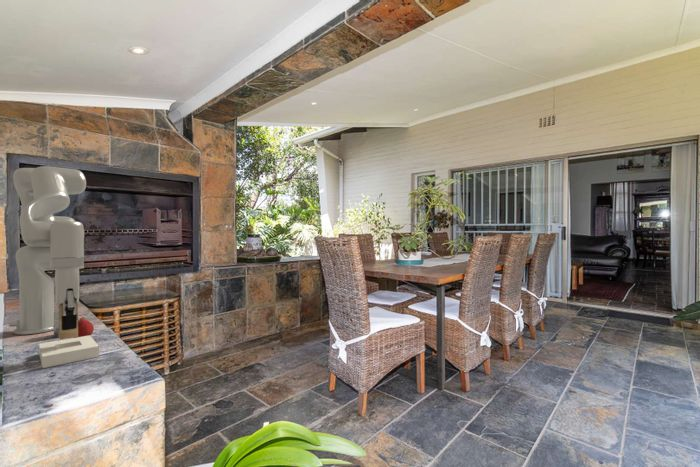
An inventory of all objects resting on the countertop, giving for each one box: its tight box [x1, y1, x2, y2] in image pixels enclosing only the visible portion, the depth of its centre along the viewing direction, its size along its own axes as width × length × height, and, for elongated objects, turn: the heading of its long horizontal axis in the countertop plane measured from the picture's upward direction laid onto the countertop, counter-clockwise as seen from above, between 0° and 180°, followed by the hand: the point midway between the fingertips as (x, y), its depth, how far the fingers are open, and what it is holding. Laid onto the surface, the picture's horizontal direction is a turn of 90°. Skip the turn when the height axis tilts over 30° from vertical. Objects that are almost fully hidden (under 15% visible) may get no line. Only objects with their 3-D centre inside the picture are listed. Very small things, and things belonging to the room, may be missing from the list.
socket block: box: [38, 335, 100, 369], centre depth 100 cm, size 16×12×3 cm
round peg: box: [53, 310, 59, 338], centre depth 123 cm, size 7×7×8 cm
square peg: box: [57, 302, 79, 340], centre depth 100 cm, size 4×4×10 cm
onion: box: [73, 316, 95, 338], centre depth 114 cm, size 6×6×8 cm
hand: (68, 327), depth 100 cm, fingers closed on square peg, 4 cm apart
